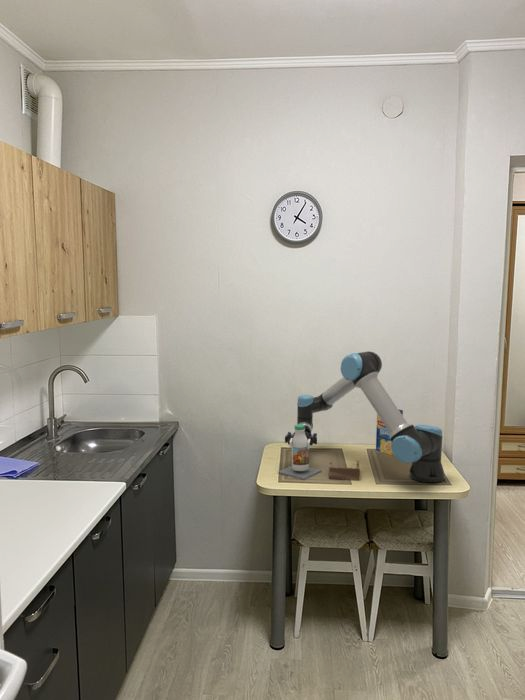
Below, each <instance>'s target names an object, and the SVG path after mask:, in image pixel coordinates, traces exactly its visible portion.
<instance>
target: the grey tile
mask: <svg viewBox="0 0 525 700" xmlns="http://www.w3.org/2000/svg"><path fill="white" fill-rule="evenodd" d="M321 472H322V469H318V468H314V467H310V466H309V469H308V470H306V471H295V470H293V469H292V465H290V466H287V467H286V468H285V467H284V468H283V469H281V470H278V471H277V473H278V474H279V473H280V475H283V476H288V477H291V478H294V479H298V478H299V480H302V479H303V480H304V481H305V480H307V479H309V478H311V477H313V476H315V475H318V474H319V473H321Z"/></svg>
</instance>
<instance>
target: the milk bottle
mask: <svg viewBox="0 0 525 700" xmlns="http://www.w3.org/2000/svg"><path fill="white" fill-rule="evenodd" d="M294 432H295V435H294V437H293V440H292V447H291V466H292V469H293V470H295V471H306V470H308V469H309V467H310V452H309V451H310V448H309V449H308V440H307V437H306V435H305V425H302V424H298V425H297V424H295V425H294Z"/></svg>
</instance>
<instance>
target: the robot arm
mask: <svg viewBox="0 0 525 700" xmlns="http://www.w3.org/2000/svg"><path fill="white" fill-rule="evenodd" d="M382 367H383V361H382V359H381V357H380V356H379V355H378V354H377V353H376V352H374V351H363V352H362V351H361V352H357V353H356V352H353V353H350V354H347V355H346V356H344V358H343V359H342V360H341V363H340V373H341V375H342V377H341V378H340V379H338V380H337V381H336V382H335V383H333V384H332V385H331V386H330V387H329V388H327V389H325V390H324V392H322V393H321V394H319V395H317V396H312V395H311V394H301V395H298V397H297V411H296V412H297V418H296V421H297V423H296V425H298V424H302V425H305V435H306V437H307V440H308V449H309V450H310V447H311V446H313V444H314V445H317V444H318V438H317V437H318V433H317V432H316V433H315V432H314V433H313V434H312V431H313V427H314V423H313V417H314V416H313V415H314V413H315V414H316V413H319V412H323V411H328V410H330V409H331V408H333V405H334V404H335V403H336V402H338V401H339V400H340V399H342V398H343V397H344V396H346V395H348V393H351V391H353V390H354V389H355V388H356V389H357V388H358V389H360V390H361V391H362V393H363V394H364V396H365V397H366V399H367V400H368V402H369V403H370V405H371V407H372V408H373V410H374V411H375V412H376V415H377V414H378V415H379V417H380V419H381V420H382V422H383V423H384V425H385V426H386V428H387V429H388V431H389V432H390V440H391V442H392V444H391V446H392V448H391V449H392V453H393V456H394V458H395V459H397V460H398V461H399V462H401V463H405V464H411V465H410V468H409V470H408V477H409V478H410V479H411V478H412V479H411V480H413V479H414V481H416V480H417V481H416V482H420V481H422V482H421V483H425V482H438V483H441V481H442V482H444V481H443V480H445V477H446V476H445V475H446V474H445V471H444V467H443V463H442V451H443V430H442V428H440V427H438V426H434V425H428V424H415V426H414V424H412V423H408V421H407V419H406V418H405V417H404V415H403V416H402V414H401V413H400V411H399V410H400V409H399V408H398V406H397V405H396V404H395V402H394V401H393V399H392V398H391V396H390V395H389V393H388V392H387V390H386V389H385V387H384V385H383V384H382V383H381V381H380V380H379V379H378V376H379V373H380V371H381V369H382ZM398 409H399V410H398ZM294 435H295V431H294V432H293V433H292V432H291V431H288V432H287V434H286V435H285V437H284V443H285V444H286V443H287V445H288V446H289V449H292V440H293V437H294Z"/></svg>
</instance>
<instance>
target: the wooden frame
mask: <svg viewBox="0 0 525 700" xmlns="http://www.w3.org/2000/svg"><path fill="white" fill-rule="evenodd" d="M328 470H329V473H328V478H329V480H344V481H345V480H346V481H360V460H356V468H355V467H354V468H352V467H340V466H339V467H338V466H337V467H335V466H333V459H331V458H330V459H329V467H328Z"/></svg>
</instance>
